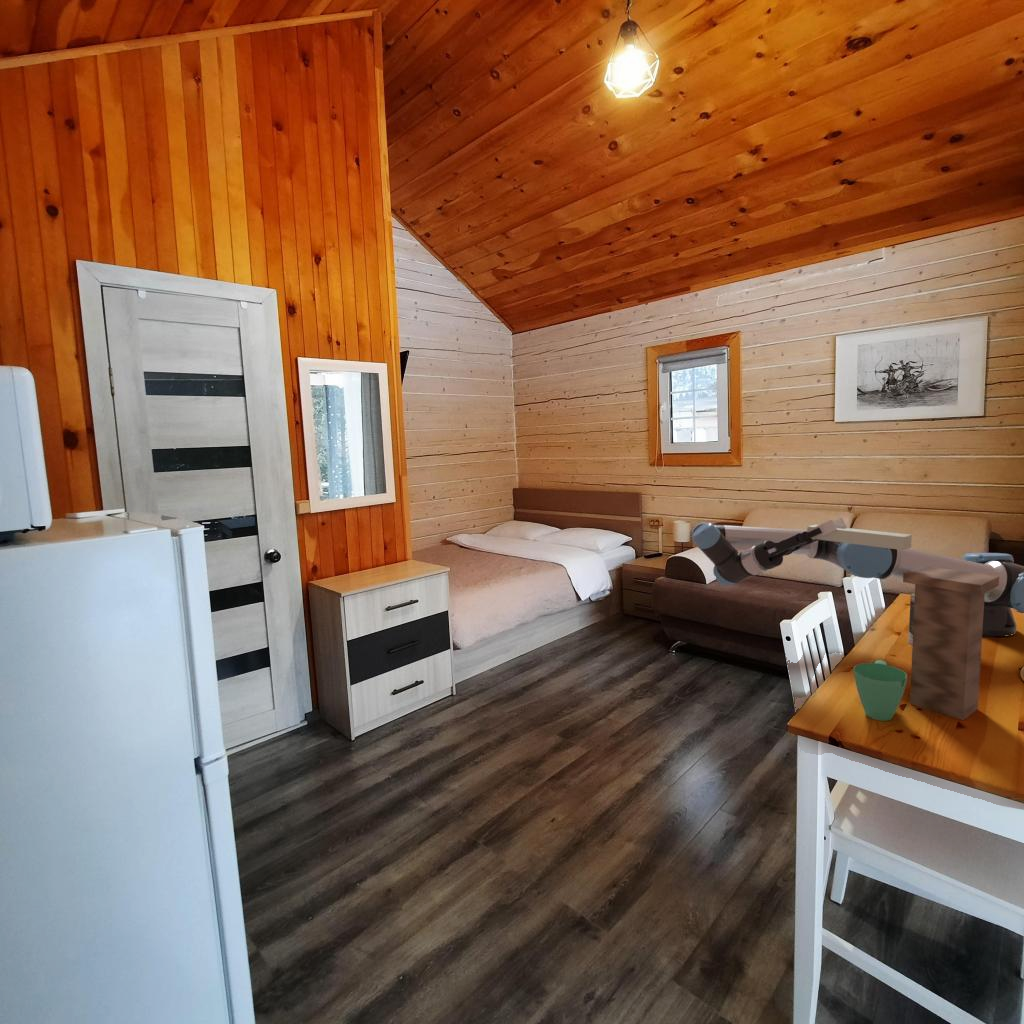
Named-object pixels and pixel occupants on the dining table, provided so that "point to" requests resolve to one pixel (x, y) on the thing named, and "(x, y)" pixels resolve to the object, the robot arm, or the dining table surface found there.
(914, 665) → the pedestal
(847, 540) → the stick
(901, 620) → the dining table surface
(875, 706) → the mug
